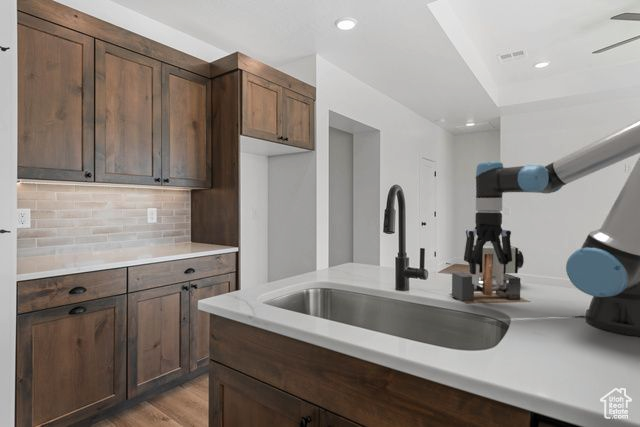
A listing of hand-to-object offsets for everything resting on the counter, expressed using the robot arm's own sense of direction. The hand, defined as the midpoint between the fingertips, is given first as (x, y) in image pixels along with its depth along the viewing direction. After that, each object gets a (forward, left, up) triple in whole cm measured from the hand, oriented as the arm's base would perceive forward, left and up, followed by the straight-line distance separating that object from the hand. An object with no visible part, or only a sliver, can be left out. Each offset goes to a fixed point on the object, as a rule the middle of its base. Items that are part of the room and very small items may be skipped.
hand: (487, 284), depth 109 cm
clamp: (+7, -12, -6) cm, 15 cm away
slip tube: (+4, -5, -4) cm, 7 cm away
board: (+7, -4, -7) cm, 11 cm away
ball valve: (+23, -16, -7) cm, 29 cm away
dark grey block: (+7, +4, -6) cm, 10 cm away
